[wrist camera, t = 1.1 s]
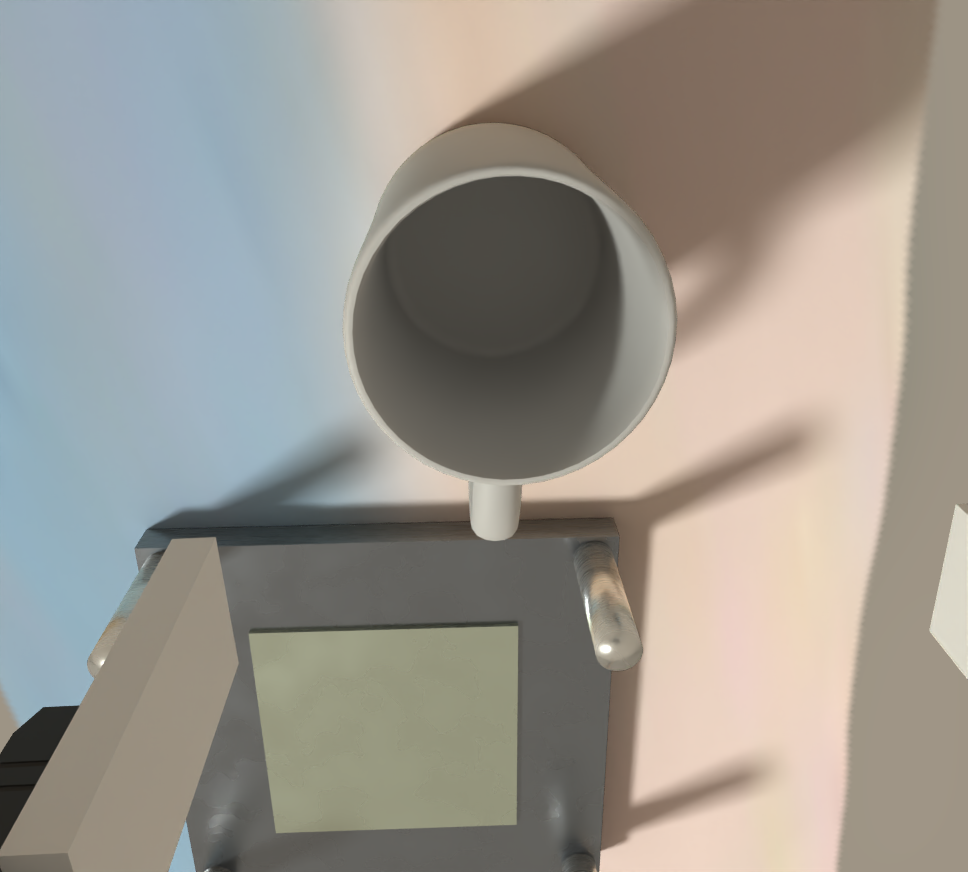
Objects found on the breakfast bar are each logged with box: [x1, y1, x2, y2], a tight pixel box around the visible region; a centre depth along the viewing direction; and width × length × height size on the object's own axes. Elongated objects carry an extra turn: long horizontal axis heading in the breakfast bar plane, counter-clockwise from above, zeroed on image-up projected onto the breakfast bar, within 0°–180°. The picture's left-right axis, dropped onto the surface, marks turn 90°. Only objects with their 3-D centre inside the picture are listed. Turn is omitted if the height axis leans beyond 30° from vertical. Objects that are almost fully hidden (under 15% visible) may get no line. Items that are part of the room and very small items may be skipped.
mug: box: [343, 123, 677, 541], centre depth 28 cm, size 12×8×11 cm
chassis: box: [87, 518, 643, 872], centre depth 37 cm, size 19×19×8 cm
